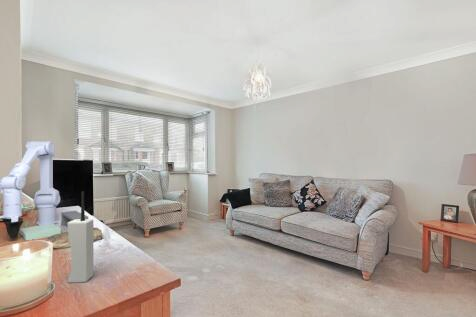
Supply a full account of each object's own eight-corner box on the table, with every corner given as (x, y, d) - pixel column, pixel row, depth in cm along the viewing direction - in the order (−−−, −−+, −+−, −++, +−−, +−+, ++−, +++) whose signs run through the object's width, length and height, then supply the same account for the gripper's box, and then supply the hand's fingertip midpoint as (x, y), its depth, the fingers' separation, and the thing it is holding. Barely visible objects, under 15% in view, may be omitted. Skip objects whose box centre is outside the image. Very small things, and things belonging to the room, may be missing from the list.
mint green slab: (20, 235, 106) (20, 228, 106) (53, 229, 115) (53, 223, 115) (25, 242, 97) (25, 235, 97) (61, 234, 106) (60, 228, 106)
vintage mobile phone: (75, 276, 68) (75, 190, 68) (93, 275, 68) (93, 190, 68) (67, 283, 64) (67, 192, 64) (86, 282, 64) (86, 192, 64)
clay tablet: (44, 254, 84) (106, 240, 98) (44, 241, 84) (105, 228, 98) (41, 245, 94) (97, 233, 108) (40, 233, 94) (96, 222, 108)
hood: (61, 224, 121) (61, 212, 121) (75, 222, 125) (75, 210, 125) (73, 233, 107) (73, 219, 107) (88, 230, 112) (88, 216, 112)
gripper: (-3, 203, 101) (-3, 234, 101) (0, 208, 92) (0, 242, 92) (19, 201, 106) (19, 230, 106) (24, 205, 97) (24, 237, 97)
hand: (12, 236), depth 99 cm, fingers open, 7 cm apart
